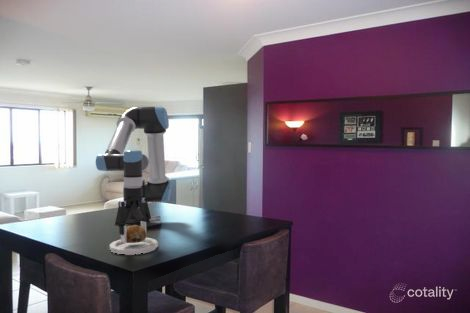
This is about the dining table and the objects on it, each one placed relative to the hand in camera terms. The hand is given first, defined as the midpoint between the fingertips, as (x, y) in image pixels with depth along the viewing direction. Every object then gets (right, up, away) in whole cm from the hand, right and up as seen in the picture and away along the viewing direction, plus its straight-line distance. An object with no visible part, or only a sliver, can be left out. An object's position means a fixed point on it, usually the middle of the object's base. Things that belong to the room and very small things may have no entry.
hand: (133, 239), depth 155 cm
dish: (0, -4, 0) cm, 4 cm away
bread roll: (0, -1, 0) cm, 1 cm away
